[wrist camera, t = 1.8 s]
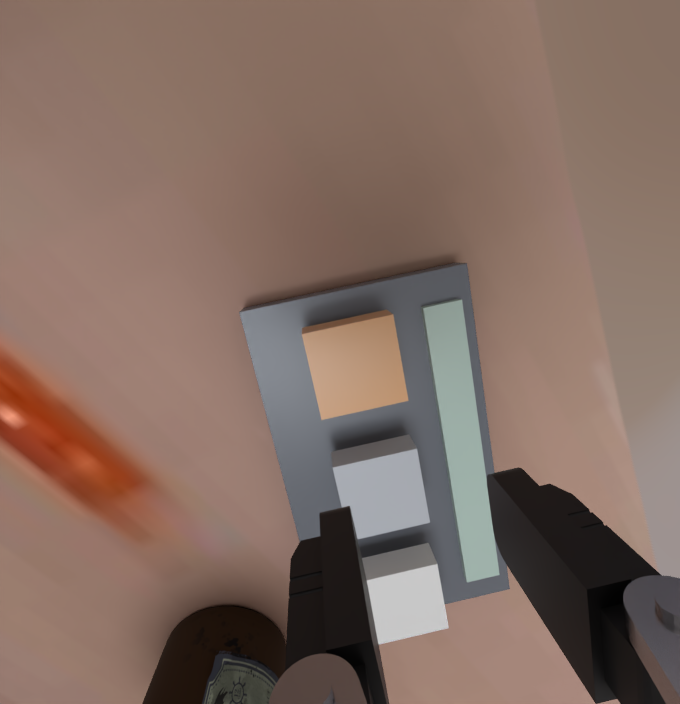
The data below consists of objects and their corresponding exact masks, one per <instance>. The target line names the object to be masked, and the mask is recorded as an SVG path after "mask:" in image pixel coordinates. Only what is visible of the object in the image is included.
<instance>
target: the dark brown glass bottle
mask: <svg viewBox="0 0 680 704" xmlns="http://www.w3.org/2000/svg"><path fill="white" fill-rule="evenodd" d="M285 662H286V645H285V641H284V639H283V636H282V635H281V633H280V631H279V630H278V628H277V627H276V626H275V625H274V624H273V623H272V622H271V621H270V620H268V619H267V618H266V617H264V616H262V615H261V614H259V613H257V612H255V611H252V610H249V609H246V608H241V607H234V606H220V607H213V608H209V609H205V610H202V611H200V612H197V613H195V614H193V615H191V616H189V617H188V618H186V619H185V620H184V621H182V622H181V623H180V624H179V625H178V626H177V627H176V628H175V629H174V631H173V632H172V634H171V635H170V637H169V639H168V641H167V643H166V645H165V648H164V650H163V653H162V655H161V658H160V660H159V663H158V665H157V668H156V670H155V673H154V675H153V678H152V681H151V683H150V686H149V688H148V691H147V693H146V696H145V698H144V701H143V703H142V704H269V700H270V696H271V693H272V691H273V689H274V687H275V685H276V683H277V682H278V680H279V678H280V677H281V676H282V675H283V674H284V672H285Z"/></svg>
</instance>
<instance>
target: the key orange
mask: <svg viewBox="0 0 680 704" xmlns="http://www.w3.org/2000/svg"><path fill="white" fill-rule="evenodd" d="M302 338H303V342H304V346H305V351H306V355H307V359H308V364H309V368H310V372H311V377H312V381H313V385H314V390H315V394H316V398H317V403H318V407H319V411H320V415H321V420H324V419H329V418H333V417H338V416H342V415H347V414H351V413H356V412H360V411H365V410H369V409H374V408H378V407H383V406H387V405H392V404H396V403H401V402H405V401H408V395H407V389H406V384H405V378H404V372H403V367H402V361H401V355H400V350H399V344H398V338H397V333H396V327H395V321H394V316H393V314H392V313H391V312H389V311H388V310H382V311H378V312H373V313H368V314H364V315H359V316H354V317H350V318H345V319H341V320H336V321H331V322H327V323H322V324H317V325H313V326H308V327H304V328H302Z"/></svg>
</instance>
